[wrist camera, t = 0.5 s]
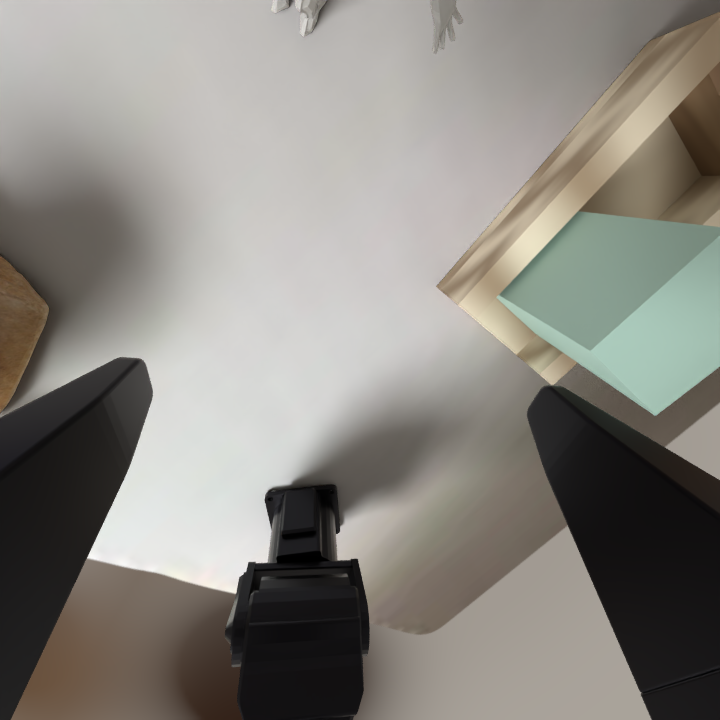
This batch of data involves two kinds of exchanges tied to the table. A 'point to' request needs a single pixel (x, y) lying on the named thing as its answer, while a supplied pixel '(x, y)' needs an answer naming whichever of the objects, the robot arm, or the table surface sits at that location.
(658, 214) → the chute
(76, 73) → the table surface
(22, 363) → the tan hollow piece
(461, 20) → the human figurine
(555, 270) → the sage block
